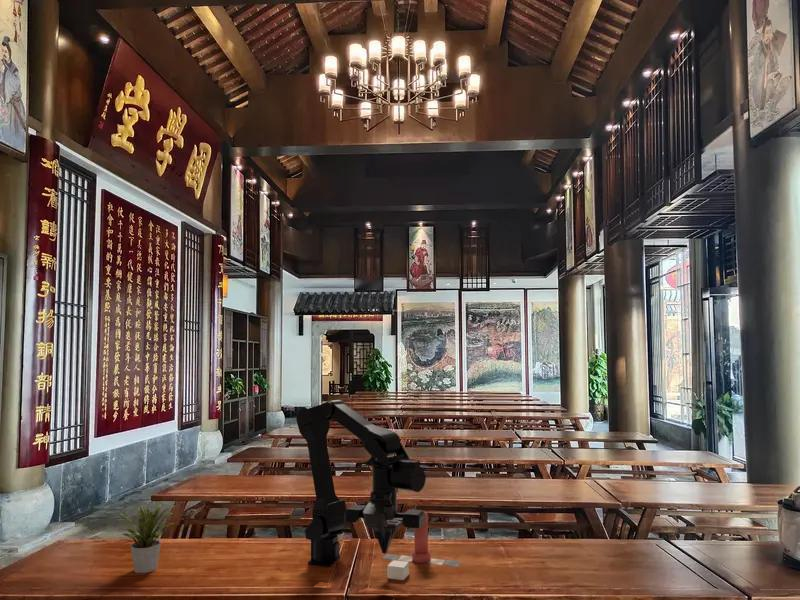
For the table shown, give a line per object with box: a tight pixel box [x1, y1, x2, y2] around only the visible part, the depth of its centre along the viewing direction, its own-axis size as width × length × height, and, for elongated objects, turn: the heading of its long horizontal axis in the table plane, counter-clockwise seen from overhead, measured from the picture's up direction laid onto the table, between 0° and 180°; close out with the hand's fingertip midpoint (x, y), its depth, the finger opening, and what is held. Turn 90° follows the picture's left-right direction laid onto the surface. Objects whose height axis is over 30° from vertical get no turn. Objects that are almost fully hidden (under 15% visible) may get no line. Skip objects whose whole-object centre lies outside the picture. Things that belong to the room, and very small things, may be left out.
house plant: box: [118, 502, 179, 574], centre depth 156 cm, size 14×14×16 cm
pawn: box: [411, 510, 432, 564], centre depth 157 cm, size 5×5×12 cm
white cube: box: [386, 559, 410, 581], centre depth 146 cm, size 4×4×4 cm
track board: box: [382, 553, 462, 567], centre depth 157 cm, size 20×8×1 cm, turn 71°
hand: (384, 553), depth 148 cm, fingers closed
